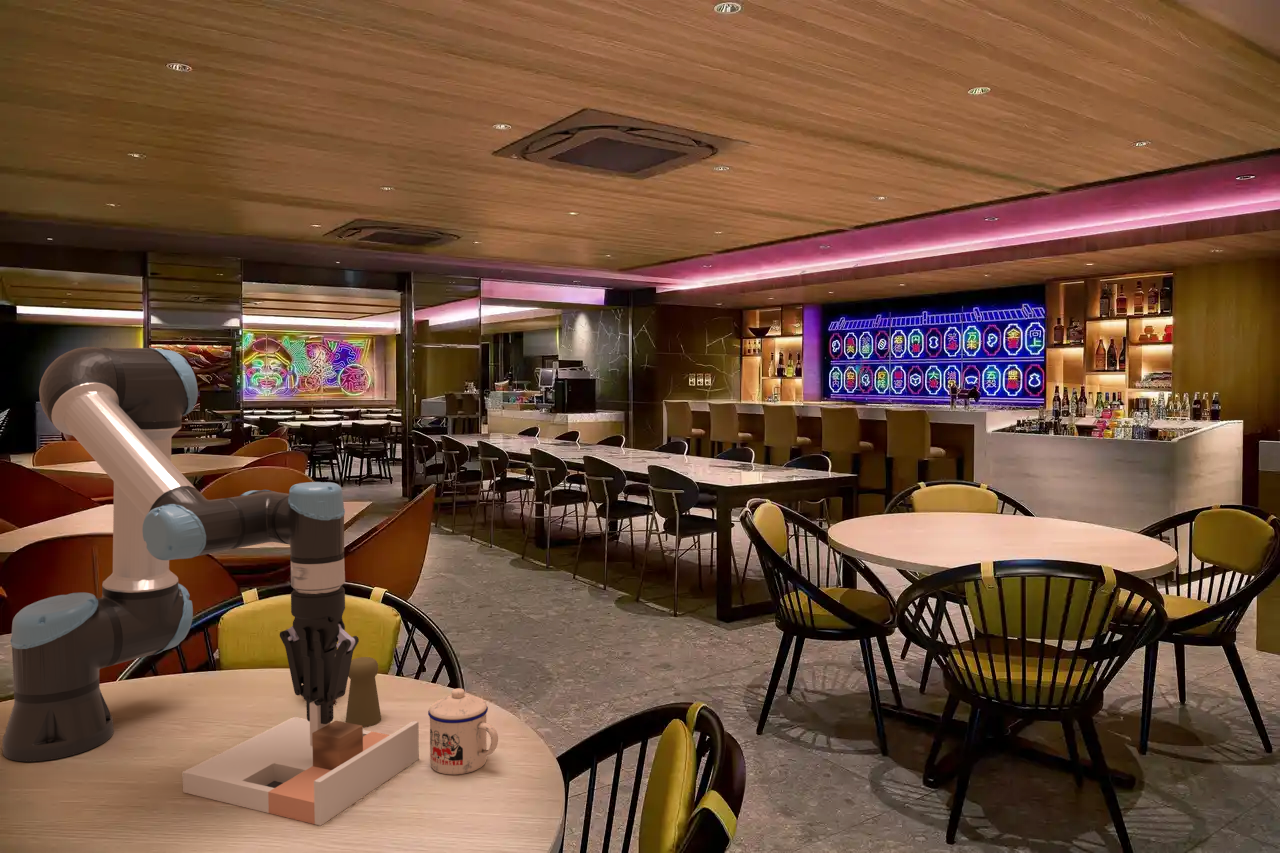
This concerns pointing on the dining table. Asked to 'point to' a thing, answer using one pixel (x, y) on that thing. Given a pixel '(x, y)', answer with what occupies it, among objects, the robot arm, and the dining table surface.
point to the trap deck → (300, 772)
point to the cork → (363, 693)
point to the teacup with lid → (459, 733)
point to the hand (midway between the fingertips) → (320, 742)
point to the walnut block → (336, 744)
